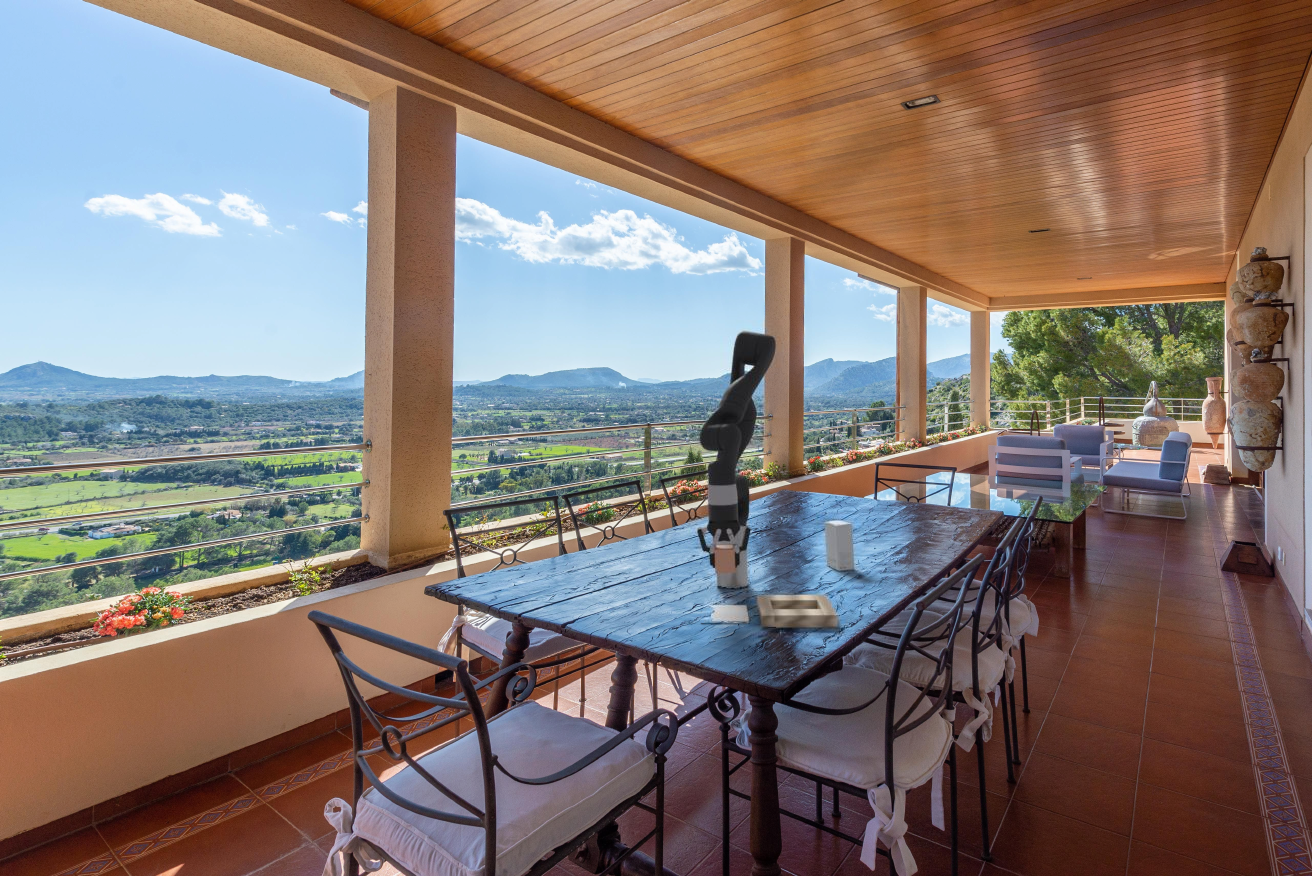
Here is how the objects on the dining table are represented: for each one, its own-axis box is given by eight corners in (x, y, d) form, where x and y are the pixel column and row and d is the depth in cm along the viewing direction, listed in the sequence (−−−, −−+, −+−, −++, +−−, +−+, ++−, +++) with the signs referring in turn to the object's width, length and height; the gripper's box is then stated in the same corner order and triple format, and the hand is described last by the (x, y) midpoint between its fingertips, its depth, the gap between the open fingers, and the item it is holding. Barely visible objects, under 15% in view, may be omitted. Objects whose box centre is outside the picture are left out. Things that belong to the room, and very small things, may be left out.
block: (715, 573, 163) (714, 549, 162) (715, 568, 168) (714, 545, 167) (735, 572, 162) (734, 549, 162) (734, 567, 167) (733, 545, 167)
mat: (700, 623, 160) (700, 621, 160) (701, 607, 172) (701, 605, 172) (749, 623, 159) (748, 620, 159) (746, 607, 171) (746, 605, 171)
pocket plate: (762, 627, 156) (761, 615, 156) (757, 606, 172) (757, 595, 172) (837, 627, 155) (837, 615, 154) (825, 605, 171) (825, 594, 170)
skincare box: (854, 570, 204) (854, 523, 203) (837, 571, 203) (836, 525, 202) (841, 563, 212) (840, 519, 211) (824, 565, 211) (824, 520, 210)
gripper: (694, 504, 161) (696, 571, 162) (752, 503, 160) (754, 570, 161) (694, 500, 168) (697, 564, 169) (749, 498, 167) (751, 562, 168)
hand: (724, 566), depth 165 cm, fingers closed on block, 5 cm apart
